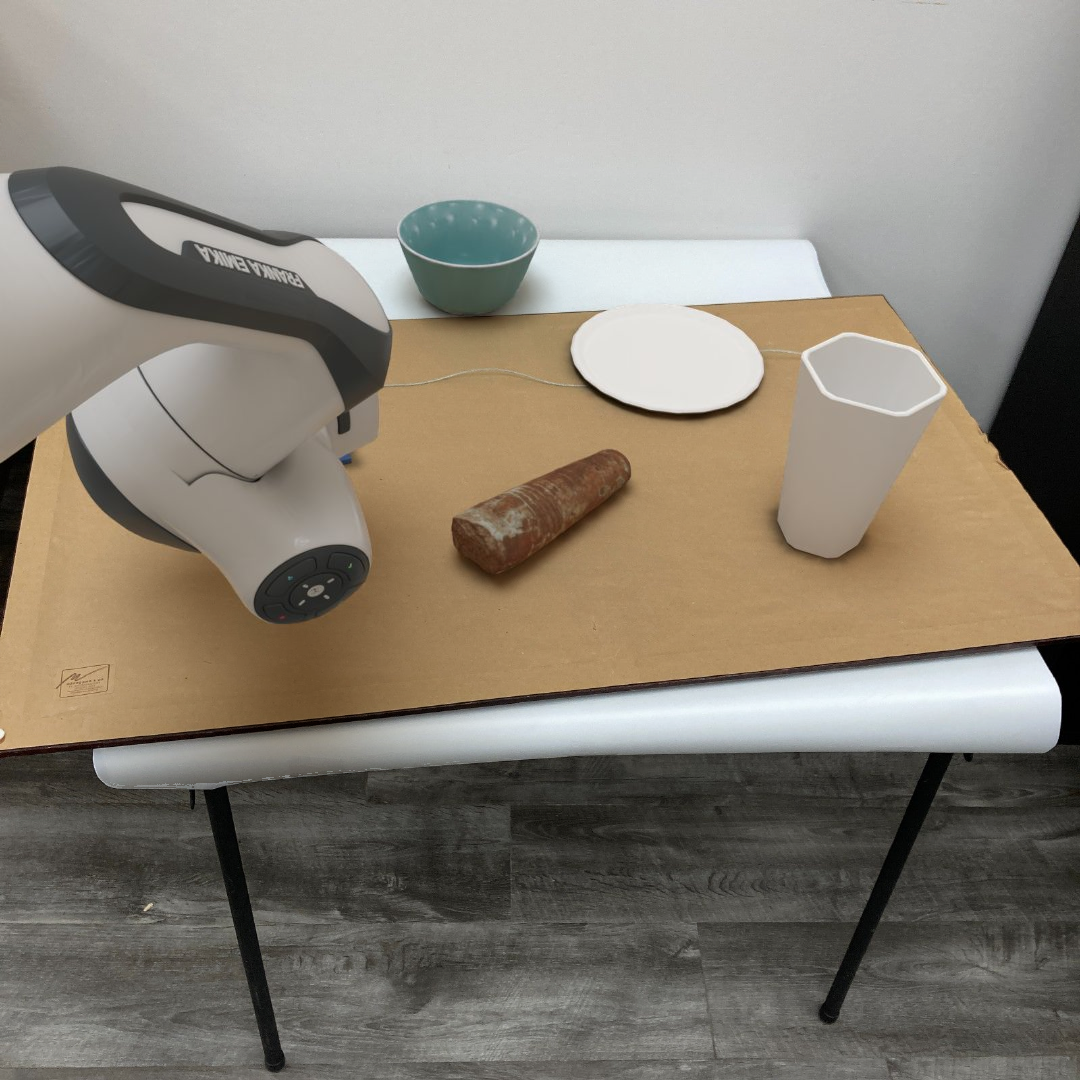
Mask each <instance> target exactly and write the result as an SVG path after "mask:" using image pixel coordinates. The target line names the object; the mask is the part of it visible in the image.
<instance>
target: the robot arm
mask: <svg viewBox="0 0 1080 1080" xmlns="http://www.w3.org/2000/svg"><path fill="white" fill-rule="evenodd" d="M390 322H391V321H390V320H389V317H388V316H387V314H386V312H385V310H384V306H383V305H382V303H381V301H380V299H379V297H378V296H377V295H376V293H375V291H374V290H373V288H372V287H371V285H370V284H369V283H368V282H367V281H366V279H365V278H364V277H363V275H362V274H361V273H360V272H359V271H358V270H357V269H356V268H355V267H354V266H353V265H352V264H351V263H350V262H349V261H348V260H347V259H346V258H345V257H343V256H342V255H341V254H339V253H338V252H336V251H335V250H334V249H332V248H331V247H328V246H327V245H325V244H324V242H322V241H320V240H319V239H317V238H315V237H313V236H311V235H308V234H307V235H306V234H304V233H303V234H302V233H300V232H299V233H298V232H294V231H287V230H277V229H276V230H275V229H259V228H256V227H253V226H250V225H248V224H245V223H242V222H240V221H237V220H234V219H231V218H229V217H226V216H223V215H220V214H217V213H214V212H213V211H210V210H206V209H204V208H201V207H199V206H195V205H193V204H190V203H187V202H185V201H181V200H179V199H176V198H173V197H171V196H167V195H165V194H162V193H159V192H156V191H153V190H151V189H148V188H145V187H142V186H138V185H136V184H132V183H129V182H127V181H123V180H120V179H117V178H114V177H111V176H108V175H105V174H101V173H98V172H95V171H90V170H88V169H82V168H78V167H72V166H65V165H60V166H59V165H58V166H49V167H48V166H47V167H38V168H27V169H20V170H15V171H13V172H5V173H4V172H2V173H1V172H0V464H1V463H3V462H4V461H6V460H7V459H9V458H10V457H12V456H13V455H14V454H16V453H18V451H20V450H21V449H23V448H24V447H25V446H27V445H28V444H29V443H31V442H33V440H35V439H37V438H38V437H39V436H40V435H41V434H43V433H45V431H47V430H48V429H50V428H52V427H53V426H54V425H56V424H57V423H58V422H59V421H61V420H62V419H63V418H65V431H66V433H65V434H66V439H67V444H68V448H69V453H70V455H71V459H72V463H73V466H74V469H75V471H76V474H77V476H78V479H79V481H80V483H81V484H82V486H83V487H84V490H85V491H86V492H87V494H88V495H89V497H90V498H91V499H92V501H93V502H94V503H95V505H96V506H97V507H98V508H99V509H100V510H101V511H102V512H103V513H104V514H105V515H107V517H109V518H110V519H111V520H113V521H114V522H115V523H117V524H118V525H120V526H121V527H123V528H124V529H125V530H127V531H129V532H130V533H133V534H134V535H137V536H138V537H141V538H143V539H145V540H147V541H151V542H153V543H157V544H160V545H164V546H167V547H170V548H175V549H178V550H182V551H185V552H190V553H195V554H202V555H204V556H205V557H206V558H207V559H208V560H209V561H210V562H211V563H212V564H213V565H214V566H215V567H216V568H217V569H218V570H219V571H220V573H222V575H223V576H224V577H225V579H226V580H227V581H228V583H229V584H230V586H231V587H232V589H233V591H234V592H235V594H236V596H237V597H238V599H239V600H240V601H241V603H242V604H243V605H244V606H245V608H246V609H247V610H248V611H249V612H250V613H251V614H252V615H254V616H255V617H256V618H258V619H260V620H262V621H263V622H266V623H268V624H273V625H294V624H295V625H296V624H301V623H305V622H309V621H312V620H314V619H318V618H320V617H322V616H325V615H326V614H328V613H329V612H331V611H332V610H334V609H335V608H337V607H338V606H339V605H342V604H343V603H344V602H345V601H347V599H349V598H350V597H352V596H353V595H354V594H355V593H357V591H358V590H359V589H360V588H361V587H362V586H363V584H364V583H365V582H366V581H367V578H368V576H369V574H370V572H371V568H372V562H373V551H372V544H371V538H370V534H369V529H368V525H367V522H366V521H367V520H366V518H365V514H364V511H363V509H362V506H361V503H360V500H359V498H358V495H357V492H356V490H355V487H354V485H353V482H352V481H351V477H350V476H349V473H348V471H347V469H346V467H345V464H342V462H341V461H340V460H339V458H341V457H343V456H345V455H347V454H348V453H349V454H350V453H353V452H355V451H356V450H359V449H361V448H364V447H365V446H367V445H369V444H371V443H373V442H374V441H376V439H378V437H379V429H380V396H379V391H380V390H382V389H384V387H385V383H386V379H387V375H388V371H389V367H390V362H391V357H392V350H393V349H392V348H393V335H394V334H393V333H394V332H393V331H394V330H393V327H392V325H391V323H390Z"/></svg>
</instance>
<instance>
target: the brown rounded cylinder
mask: <svg viewBox="0 0 1080 1080" xmlns="http://www.w3.org/2000/svg"><path fill="white" fill-rule="evenodd" d="M631 478H632V466H631V463H630V461H629V459H628V458H627V456H626V455H624V453H622V452H621V451H619V450H617V449H613V448H606V449H602V450H600V451H597V452H595V453H593V454H591V455H588V456H586V457H582V458H580V459H578V460H575V461H573V462H571V463H569V464H566V465H564V466H561V467H558V468H556V469H554V470H552V471H550V472H547V473H545V474H543V475H540V476H538V477H535V478H533V479H531V480H529V481H526V482H523V483H522V484H520V485H518V486H515V487H513V488H510V489H508V490H506V491H504V492H502V493H500V494H497V495H495V496H493V497H490V498H488V499H486V500H483V501H481V502H478V503H477V504H475V505H473V506H471V507H469V508H468V509H466V510H465V511H463V512H461V513H458V514H456V515H455V516H453V517H452V521H451V526H450V528H451V530H450V531H451V536H452V537H451V538H452V543H453V546H454V548H455V549H456V551H457V553H458V554H459V555H460V556H463V557H465V558H468V559H470V560H471V561H473V562H474V563H476V564H477V565H478V566H479V567H480V569H482V570H484V571H485V572H486V573H489V574H491V575H498V574H501V573H504V572H507V571H509V570H511V569H512V568H514V567H515V566H517V565H519V564H520V563H522V562H523V561H525V560H526V559H527V558H528V557H531V556H532V555H533V554H535V553H536V552H538V551H539V550H541V549H543V548H544V547H545V546H547V545H548V544H549V543H551V542H552V541H553V540H554V539H556V538H557V537H558V536H560V535H561V534H562V533H564V532H566V530H568V528H570V527H572V526H573V525H574V524H575V523H577V522H578V521H579V520H580V519H582V518H583V517H585V516H586V515H587V514H588V513H589V512H591V511H592V510H594V509H595V508H597V507H598V506H599V505H601V504H602V503H603V502H605V501H606V500H607V499H608V498H609V497H611V496H612V495H613V494H614V493H615V492H617V491H618V490H619V489H620V488H622V487H623V486H625V484H627V483H628V482H629V481H630V480H631Z"/></svg>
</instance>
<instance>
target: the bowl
mask: <svg viewBox="0 0 1080 1080" xmlns="http://www.w3.org/2000/svg"><path fill="white" fill-rule="evenodd" d="M396 237H397V240H398V243H399V245H400V248H401V250H402V253H403V256H404V259H405V261H406V263H407V266H408V268H409V270H410V273H411V276H412V277H413V279H414V282H415V284H416V287H417V288H418V291H419V293H420V294H421V296H422V297H423V298H424V299H425V300H426V301H428V302H429V303H430V304H431V305H433V306H435V307H436V308H438V309H440V310H441V311H443V312H446V313H449V314H453V315H458V316H466V317H467V316H469V317H471V316H473V317H475V316H483V315H486V314H490V313H493V312H495V311H497V310H499V309H500V308H503V306H505V305H507V304H508V303H510V302H511V301H512V300H513V299H514V297H515V296H516V294H517V292H518V290H519V288H520V286H521V284H522V283H523V280H524V277H525V276H526V274H527V271H528V269H529V267H530V265H531V263H532V261H533V258H534V255H535V253H536V251H537V248H538V246H539V244H540V239H541V233H540V229H539V227H538V226H537V224H536V223H535V222H534V220H532V219H531V218H530V217H529V216H528V215H526V214H524V212H521V211H519V210H518V209H515V208H513V207H511V206H508V205H505V204H502V203H499V202H494V201H490V200H484V199H477V198H447V199H441V200H435V201H430V202H427V203H424V204H420V205H419V206H416V207H415V208H412V209H411V210H409V211H408V212H407V213H405V214H403V216H402V217H401V218H400V220H399V221H398V223H397V226H396Z"/></svg>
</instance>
